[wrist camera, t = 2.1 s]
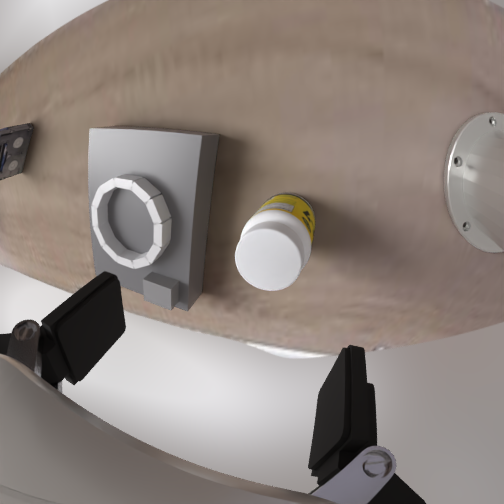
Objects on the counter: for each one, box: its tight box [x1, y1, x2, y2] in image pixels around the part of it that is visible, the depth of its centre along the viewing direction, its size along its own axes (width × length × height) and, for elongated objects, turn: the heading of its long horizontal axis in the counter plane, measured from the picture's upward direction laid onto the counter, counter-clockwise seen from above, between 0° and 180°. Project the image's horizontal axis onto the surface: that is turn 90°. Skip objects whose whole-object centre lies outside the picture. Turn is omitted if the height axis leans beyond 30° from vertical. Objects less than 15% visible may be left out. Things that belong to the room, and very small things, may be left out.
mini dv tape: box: [0, 123, 34, 180], centre depth 26 cm, size 8×2×6 cm, turn 139°
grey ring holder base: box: [88, 126, 220, 311], centre depth 24 cm, size 12×16×5 cm
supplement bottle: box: [235, 193, 315, 291], centre depth 20 cm, size 5×5×8 cm
